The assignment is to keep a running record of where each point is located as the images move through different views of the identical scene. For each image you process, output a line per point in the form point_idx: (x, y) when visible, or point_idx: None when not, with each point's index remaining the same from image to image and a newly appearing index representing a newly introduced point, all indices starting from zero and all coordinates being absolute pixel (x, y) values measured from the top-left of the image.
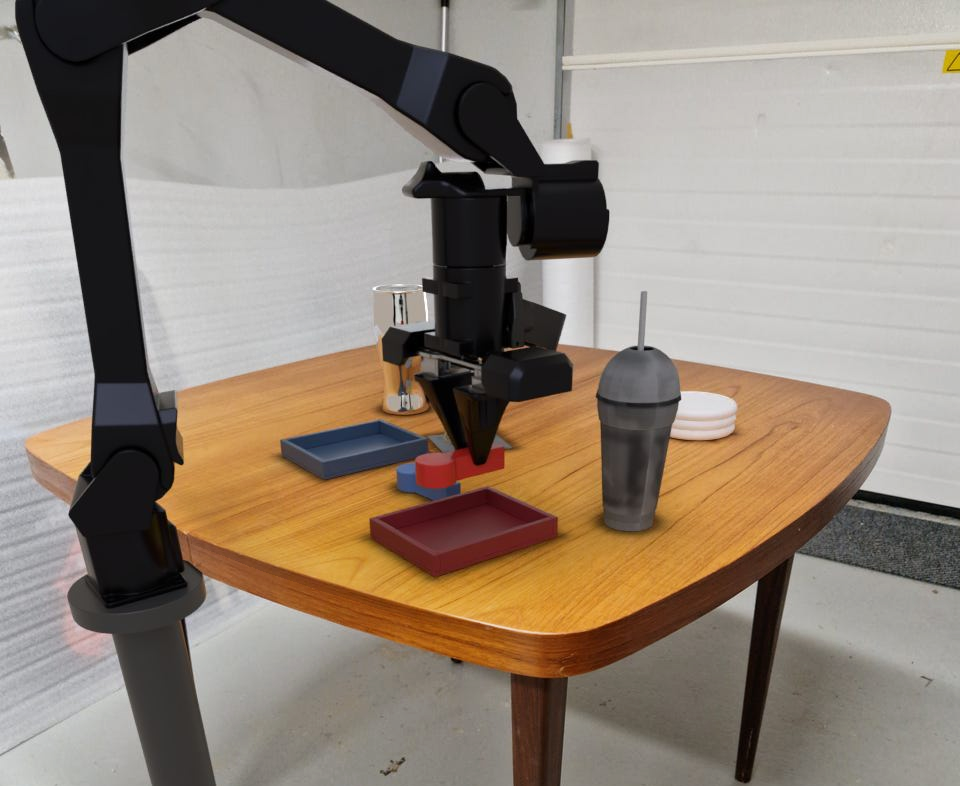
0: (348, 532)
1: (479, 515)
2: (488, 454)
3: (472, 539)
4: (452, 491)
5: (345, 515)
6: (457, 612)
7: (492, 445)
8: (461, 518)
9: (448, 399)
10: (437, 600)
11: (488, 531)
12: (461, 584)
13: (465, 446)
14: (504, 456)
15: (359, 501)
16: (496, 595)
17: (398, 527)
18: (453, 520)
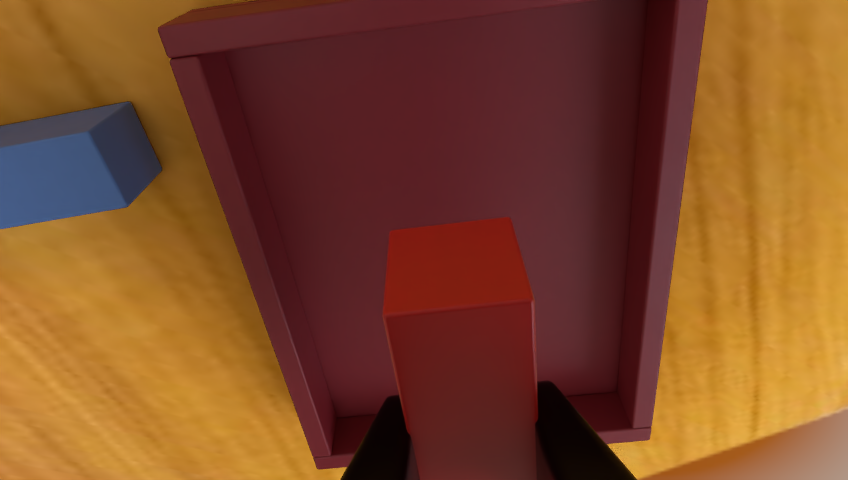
0: (263, 443)
1: (334, 131)
2: (576, 413)
3: None
4: (125, 164)
5: (138, 418)
6: (802, 415)
7: (471, 353)
8: (332, 199)
9: None
10: (725, 423)
11: (490, 176)
12: (705, 362)
13: (417, 477)
14: (520, 256)
15: (29, 363)
16: (818, 327)
17: (323, 376)
18: (337, 229)
